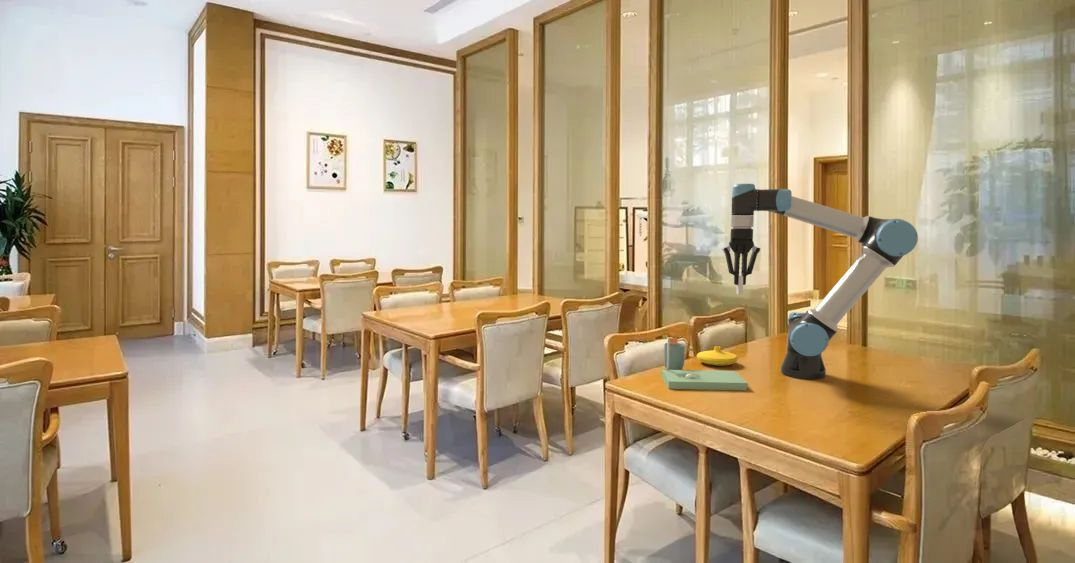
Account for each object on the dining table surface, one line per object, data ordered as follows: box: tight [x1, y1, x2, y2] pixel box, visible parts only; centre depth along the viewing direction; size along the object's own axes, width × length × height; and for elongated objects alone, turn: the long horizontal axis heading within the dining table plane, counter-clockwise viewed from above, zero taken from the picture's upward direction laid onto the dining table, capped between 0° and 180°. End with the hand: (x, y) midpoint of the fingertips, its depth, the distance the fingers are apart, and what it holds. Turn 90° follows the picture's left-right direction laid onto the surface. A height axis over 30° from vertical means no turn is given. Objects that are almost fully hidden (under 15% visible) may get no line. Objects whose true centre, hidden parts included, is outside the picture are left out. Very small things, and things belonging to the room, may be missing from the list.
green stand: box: [661, 337, 748, 391], centre depth 209 cm, size 26×16×14 cm, turn 87°
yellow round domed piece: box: [696, 345, 739, 367], centre depth 238 cm, size 16×16×7 cm
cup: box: [663, 342, 686, 370], centre depth 227 cm, size 8×8×10 cm
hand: (739, 294), depth 215 cm, fingers closed
